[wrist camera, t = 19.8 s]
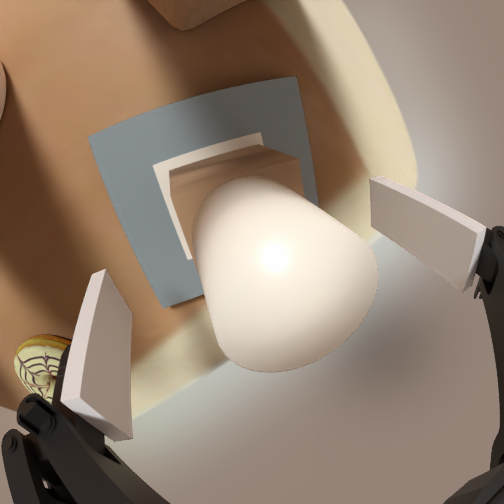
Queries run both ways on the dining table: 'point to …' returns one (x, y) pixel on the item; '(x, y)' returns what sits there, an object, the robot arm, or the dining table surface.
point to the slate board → (185, 152)
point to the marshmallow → (279, 275)
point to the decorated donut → (40, 363)
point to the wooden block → (191, 11)
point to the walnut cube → (227, 179)
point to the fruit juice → (2, 89)
